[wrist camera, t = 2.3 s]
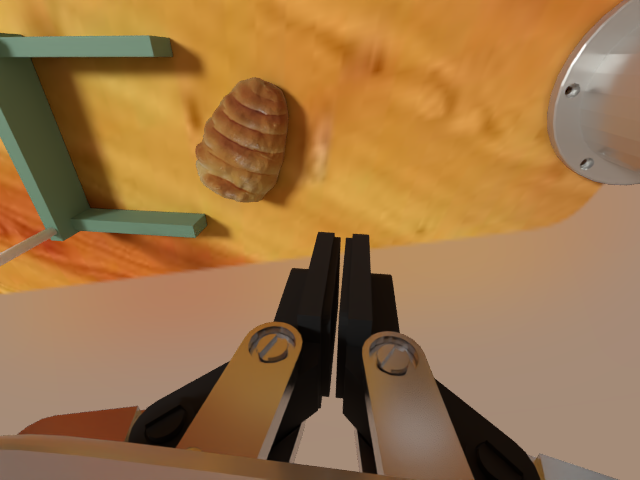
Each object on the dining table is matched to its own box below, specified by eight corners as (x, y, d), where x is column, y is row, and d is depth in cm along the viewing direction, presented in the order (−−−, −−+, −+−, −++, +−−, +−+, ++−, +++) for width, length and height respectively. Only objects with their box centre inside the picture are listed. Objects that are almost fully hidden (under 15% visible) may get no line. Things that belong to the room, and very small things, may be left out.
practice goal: (168, 33, 23) (-52, 1, 11) (207, 227, 31) (107, 335, 19) (7, 34, 24) (-350, 8, 12) (84, 220, 32) (-83, 317, 20)
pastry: (231, 58, 23) (210, 58, 20) (312, 103, 24) (304, 110, 21) (199, 167, 28) (178, 181, 25) (268, 201, 29) (256, 219, 26)
